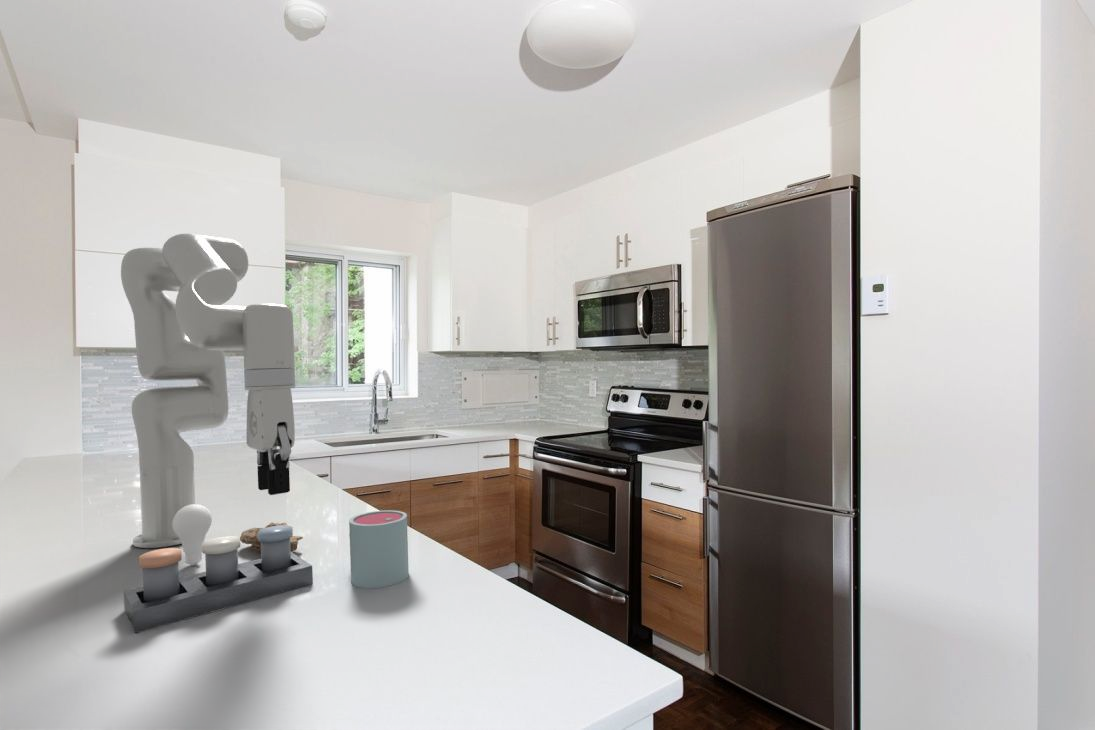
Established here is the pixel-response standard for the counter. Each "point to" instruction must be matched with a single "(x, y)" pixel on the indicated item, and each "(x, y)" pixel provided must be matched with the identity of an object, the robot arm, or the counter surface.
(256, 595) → the key panel
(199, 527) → the lightbulb
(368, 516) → the mug
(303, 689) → the counter surface
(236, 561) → the cream key
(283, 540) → the light blue cylinder
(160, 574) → the terracotta key
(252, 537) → the rock
